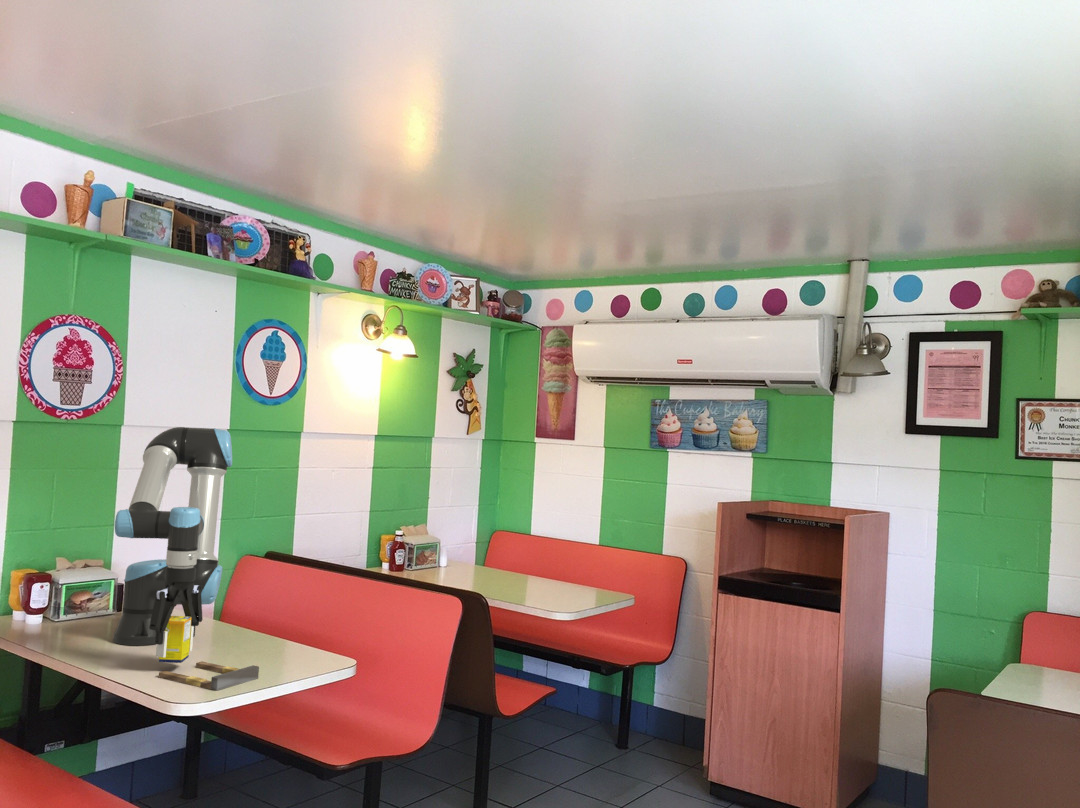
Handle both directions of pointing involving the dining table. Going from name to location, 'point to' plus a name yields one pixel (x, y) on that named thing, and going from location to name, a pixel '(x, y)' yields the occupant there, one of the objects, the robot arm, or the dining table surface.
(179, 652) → the supplement box
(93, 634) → the dining table surface
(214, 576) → the robot arm
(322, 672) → the dining table surface
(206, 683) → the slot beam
